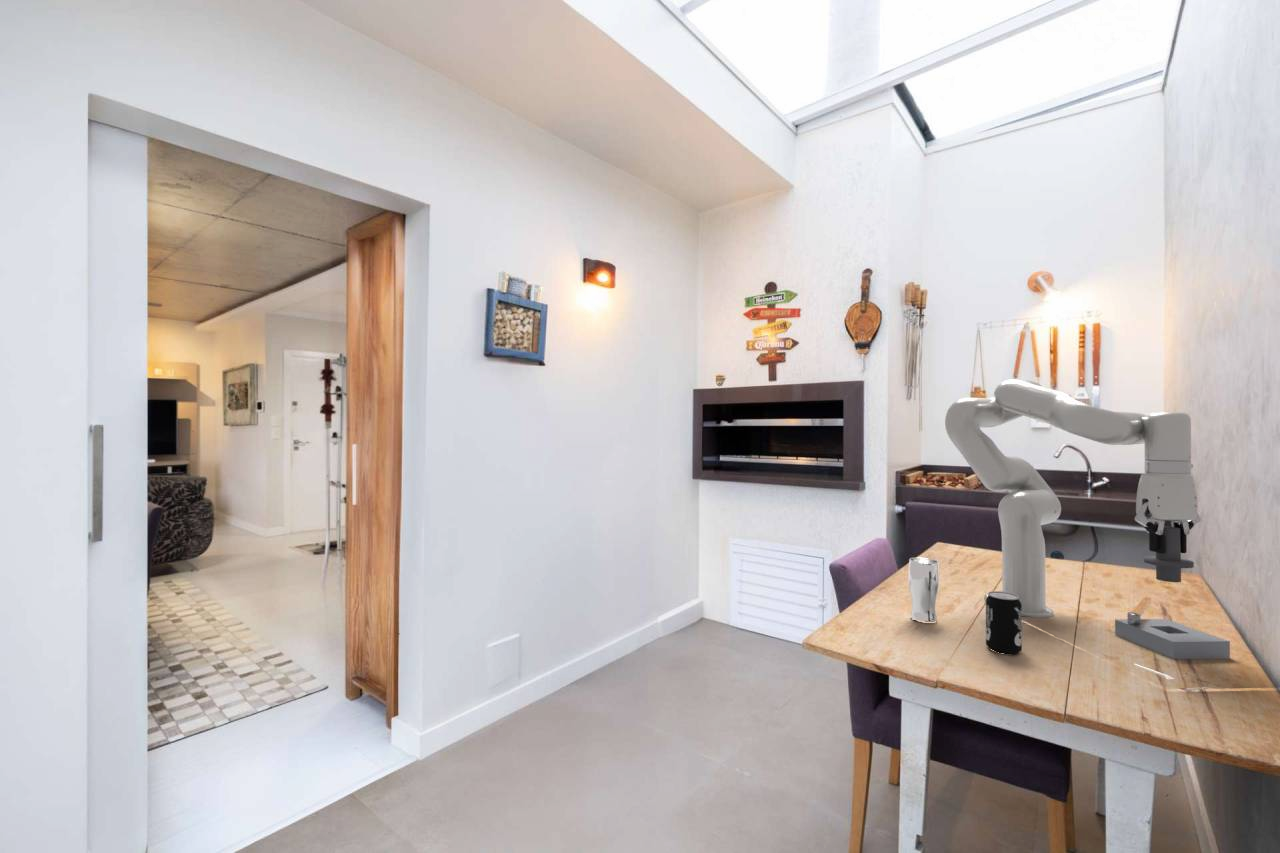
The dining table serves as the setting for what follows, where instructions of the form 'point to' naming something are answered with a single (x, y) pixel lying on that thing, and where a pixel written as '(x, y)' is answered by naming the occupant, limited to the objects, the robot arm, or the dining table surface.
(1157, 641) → the socket block
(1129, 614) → the orange stick
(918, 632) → the dining table surface
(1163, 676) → the fork
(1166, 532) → the plug
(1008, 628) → the beverage can
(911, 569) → the beer glass
